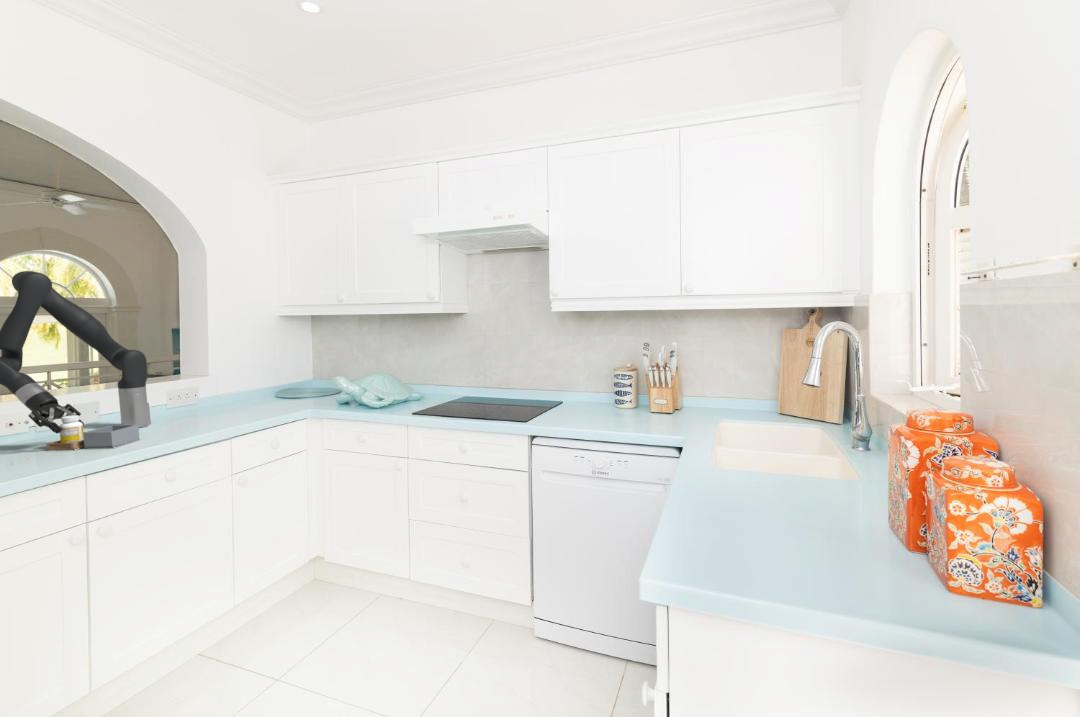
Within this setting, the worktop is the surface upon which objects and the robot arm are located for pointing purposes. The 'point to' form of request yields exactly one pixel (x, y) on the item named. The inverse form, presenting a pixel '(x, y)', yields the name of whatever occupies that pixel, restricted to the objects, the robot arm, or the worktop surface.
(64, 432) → the supplement bottle
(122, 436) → the bin
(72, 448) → the wooden tray
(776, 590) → the worktop surface
